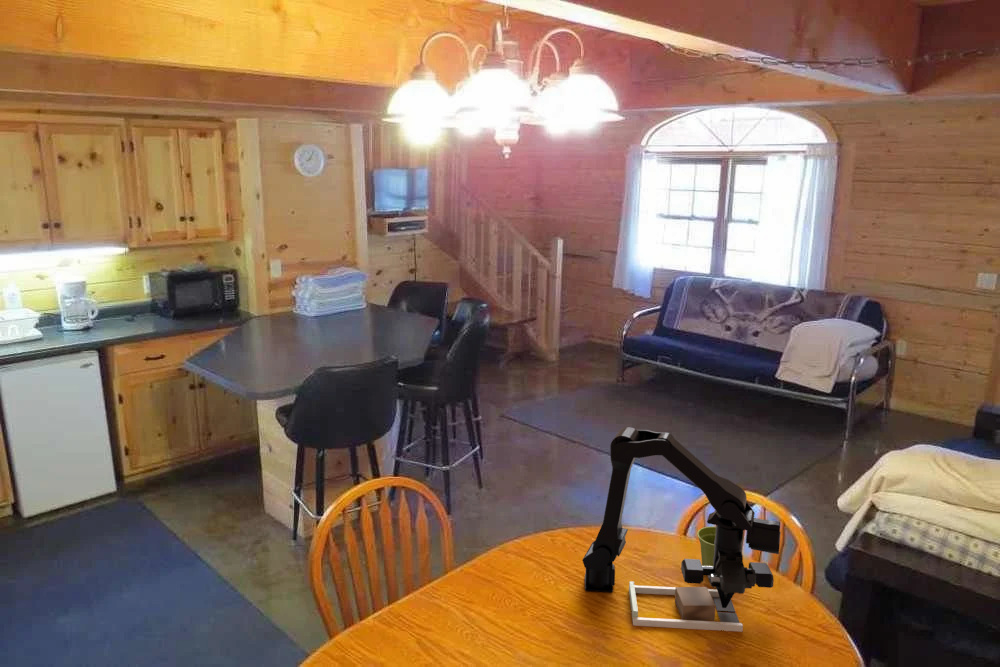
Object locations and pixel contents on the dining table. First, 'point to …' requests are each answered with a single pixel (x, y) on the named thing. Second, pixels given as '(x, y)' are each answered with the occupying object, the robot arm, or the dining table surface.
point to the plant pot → (707, 544)
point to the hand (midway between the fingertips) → (723, 606)
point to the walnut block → (695, 603)
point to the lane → (674, 622)
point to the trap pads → (730, 608)
